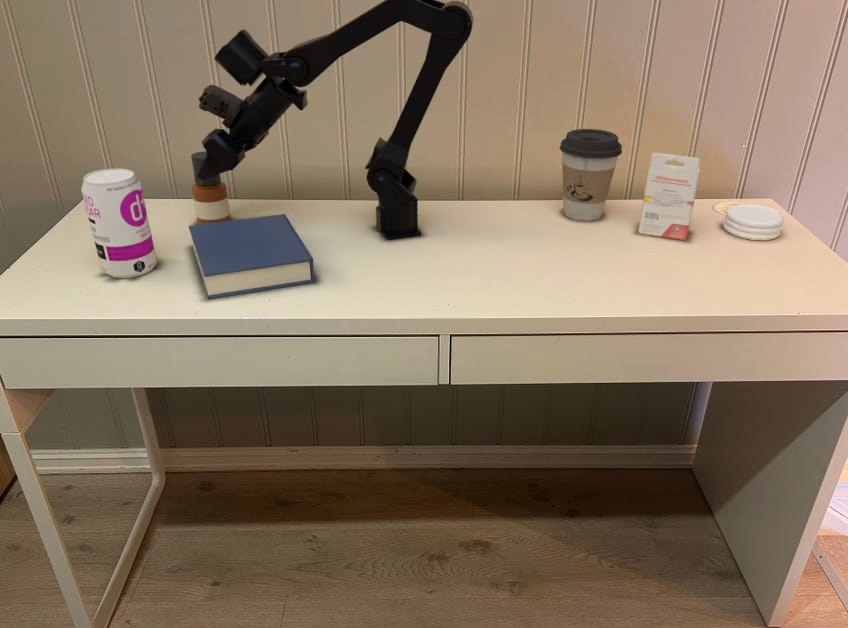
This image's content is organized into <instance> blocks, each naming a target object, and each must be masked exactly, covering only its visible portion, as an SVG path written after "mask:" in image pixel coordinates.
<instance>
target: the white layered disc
mask: <svg viewBox="0 0 848 628" xmlns="http://www.w3.org/2000/svg"><path fill="white" fill-rule="evenodd" d="M784 222H785V217H784V215H783V214H782V213H781V212H779V211H778V210H776V209H774V208H771V207H769V206H764V205H758V204H751V203H749V204H748V203H742V204H740V203H739V204H735V205H731V206H730V207H728V208H726V211H725V216H724V220H723V225H722V226H723V228H724V230H725V231H726V232H728V233H729V234H731V235H732V236H735V237H738V238H741V239H745V240H750V241H771V240H774V239H776V238H778V237H780V235H781V233H782V229H783V223H784Z"/></svg>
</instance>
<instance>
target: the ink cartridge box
mask: <svg viewBox="0 0 848 628" xmlns="http://www.w3.org/2000/svg"><path fill="white" fill-rule="evenodd" d="M650 158H651V159H650V163H649V168H648V169H647V173H646V181H645V187H644V194H643V199H642V207H641V212H640V219H639V224H638V230H637V231H638V234H640V235H648V236H653V237H654V236H655V237H662V238H666V239H668V238H669V239H673V240H679V241H686V240H687V236H688V233H689V230H690V226H691V220H692V216H693V210H694V205H695V199H696V194H697V188H698V183H699V177H700V173H701V172H700V171H701V169H700V167H699V166H700V163H701V162H700V158H699V157H692V156H687V155H678V154H669V153H660V152H652V154H651V156H650ZM674 161H676V162H677V163H680V164H682V165H680V166H679V165H670V164H667V162H674Z"/></svg>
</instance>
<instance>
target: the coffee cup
mask: <svg viewBox="0 0 848 628" xmlns="http://www.w3.org/2000/svg"><path fill="white" fill-rule="evenodd" d="M565 135H566V136H565V138H563V139H562V140H561V142H560V146H559V150H560V151H561V161H562V163H561V165H562V166H561V167H562V209H563V214H564V215H565V217H567V218H568V219H571V220H574V221H580V222H591V221H596V220H599V219H600V218H601V217H602V214H603V213H604V209H605V207H606V203H607V199H608V195H609V191H610V188H611V185H612V181H613V178H614V173H615V169H616V166H617V162H618V158H619V156H621V155H622V154H623V145H622V144H621V143H620V142H619V136H618V135H617V134H615V133H614V132H611V131H608V130H605V129H604V130H603V129H598V128H597V129H596V128H577V129H572V130H570V131H567V133H566V134H565Z"/></svg>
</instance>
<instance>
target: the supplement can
mask: <svg viewBox="0 0 848 628" xmlns="http://www.w3.org/2000/svg"><path fill="white" fill-rule="evenodd" d="M82 180H83V182H82V185H81V188H80V189H81V194H82V199H83V203H84V206H85V210H86V213H87V217H88V223H89V225H90V229H91V233H92V237H93V241H94V245H95V249H96V253H97V257H98V261H99V265H100V269H101V271H102V272H103V273H105V274H107V275H108V276H110V277H113V278H115V279H132V278H137V277H140V276H142V275H146V274H148V273H150V272H151V271H152V270H153V269H154V267H155V266H156V265H157V264H158V259H157V254H156V250H155V246H154V245H155V244H154V241H153V235H152V230H151V226H150V221H149V217H148V212H147V207H146V201H145V198H144V197H145V196H144V193H143V192H144V191H143V187H142V183H141V181H140V179H139V178H138V177H137V176H136V175H135V172H134V171H133V170H130V169H127V168H105V169H99V170H95V171H92V172H89V173H87V174H85V175H84V176H83V179H82Z"/></svg>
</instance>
